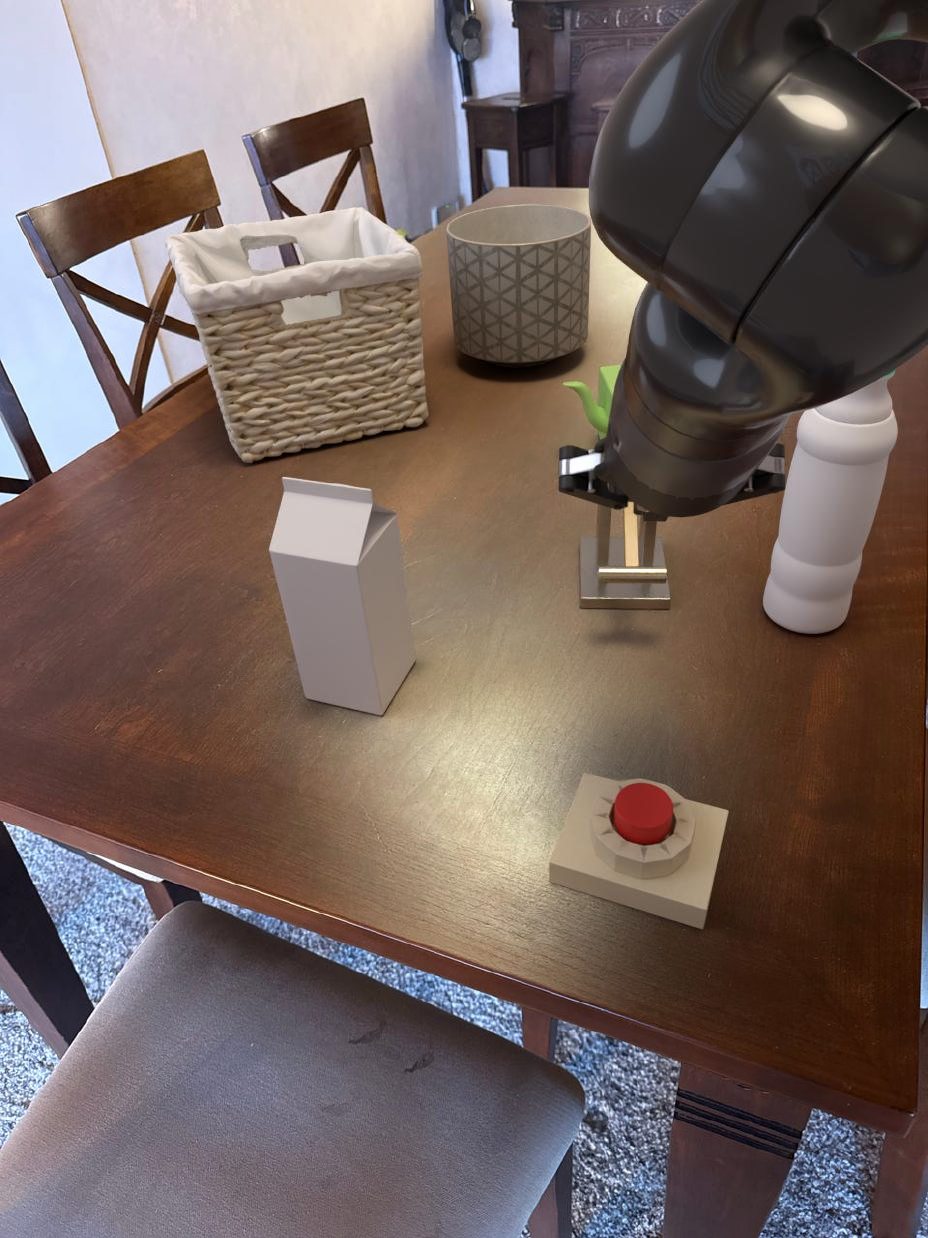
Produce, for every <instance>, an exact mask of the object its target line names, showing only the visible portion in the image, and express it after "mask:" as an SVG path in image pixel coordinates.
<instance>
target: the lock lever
mask: <svg viewBox="0 0 928 1238" xmlns="http://www.w3.org/2000/svg"><path fill="white" fill-rule="evenodd" d="M622 521H623V525H622V526H623V527H622V528H623V537H624V566H598V583H639V584H665V583H666V581H667V577H668V568H667V565H666V566H639V551H638V537H639V524H638V523H639V522H638V515H635V514H634V513H633V502H628V507H626V508H622Z"/></svg>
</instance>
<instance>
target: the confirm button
mask: <svg viewBox="0 0 928 1238" xmlns="http://www.w3.org/2000/svg"><path fill="white" fill-rule="evenodd" d="M672 815H673V803H672V800H671V798H670V797H669V795H668V794H667V793H666V792H665V791H664V790H662V789H661V788H659V787H657V786H655V785H652V784H648V783H634V784H630V785H628V786H626V787H624V788H623V789H622V790H621V791H620V792H619V793H618V795H617V797H616V800H615V812H614V824H615V827H616V829H617V831H618V832H619V833H620V835H622V836H623V837H624V838H625V839H627V840H628V841H630V842H633V843H636V844H641V845H650V844H655V843H658V842H660V841H661V840H663V839H664V838H665V837H666V836H667V835H668V833H669V831H670V828H671V822H672Z"/></svg>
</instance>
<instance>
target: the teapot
mask: <svg viewBox="0 0 928 1238" xmlns="http://www.w3.org/2000/svg"><path fill="white" fill-rule="evenodd" d="M621 365H622V364H616V365H605V366H604V365H603V366H600V367H599V369H598V391H597V392H598V394H597V403H596V401H595V399H594V395H593V393H592V391H591V389H590V387H589V386H588V385H587V384H586V383H584V382H582V381H565V382H563V383H562V386H564V387H567V388H569V389H570V390H571V389H572V391H574V392H576V393H577V395H578V396H579V399H580V400H581V403H582V406H583V411H584V413H585V416H586V418H587V420H588V423H589V424H590V425H591V426H592V427H593V428H594V429H595V430H596V431H597V434H598V436H599V439H600V440H601V439H603V438H605V437H606V435H607V429H608V422H609V416H610V410H611V404H612V398H613V392H614V386H615V382H616V379H617V375H618V372H619V370H620V368H621Z"/></svg>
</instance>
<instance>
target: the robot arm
mask: <svg viewBox="0 0 928 1238" xmlns="http://www.w3.org/2000/svg"><path fill="white" fill-rule="evenodd" d="M893 40H896V41H898V40H907V41H908V40H909V41H917V42H922V43H928V0H700V1H699V2H698V3H697V4H696V5H694V7H692V8H691V10H689V11H688V12H687V13H686V14H685V15H684V16H683V17H682V18H681V19H680V20H679V21H678V22H677V23H676V24H675V25H674V26H672V28H670V29H669V30H668V31H667V32H666V33H665V34H664V35H663V37H661V39H659V41H658V42H657V43H656V44H655V45H654V47H653V48H652V49H651V50H650V51H649V52H648V53H647V55H646V56H645V57H644V58H643V59H642V60H641V61H640V63H639V64H638V65H637V67H636V68H635V69H634V70H633V72H632V73H631V75H630V76H629V77H628V79H627V80H626V82H625V83H624V85H623V87H622V88H621V90H620V91H619V93H618V94H617V96H616V98H615V99H614V101H613V103H612V105H611V107H610V109H609V111H608V113H607V115H606V117H605V119H604V122H603V123H602V127H601V129H600V132H599V134H598V137H597V140H596V142H595V143H596V144H595V146H594V149H593V155H592V160H591V166H590V171H589V177H588V209H589V217H590V219H591V224H592V226H593V228H594V229H595V232H596V234H597V236H598V238H599V240H600V241H601V242H602V244H603V246H604V247H606V249H607V250H608V251H609V252H610V253H611V254H612V255H613V256H614V257H615V258H616V259H617V260H619V261H620V262H621V263H622V264H623V265H625V266H626V267H627V268H629V269H630V270H631V271H632V272H634V273H635V274H636V275H637V276H639V277H640V278H642V279H643V280H644V281H645V282H646V284H645V285H644V288H643V290H642V292H641V294H640V296H639V298H638V301H637V303H636V306H635V308H634V311H633V315H632V320H631V324H630V329H629V334H628V339H627V340H628V341H627V347H626V352H625V357H624V359H623V361H622V363H621V364H620V365H621V368H620V370H619V372H618V375H617V379H616V382H615V386H614V392H613V398H612V404H611V410H610V416H609V422H608V429H607V435H606V437H605V438H603V439H600V440H598V441H597V443H596V444H595V446H594V449H593V448H592V449H590V448H589V449H588V450H587V449H585V448H582V447H580V446H576V445H573V444H568V445H564V446H560V447H559V449H558V450H559V451H558V473H557V474H558V477H557V478H558V492H559V493H561V494H565V495H568V496H570V497H574V498H577V499H580V500H582V501H583V500H584V501H587V502H590V503H593V504H595V505H596V504H597V505H598V504H599V505H602V506H605V507H608V508H611V509H613V510H615V511H620V510H623V508H626V507H628V502H633V513H634V514H635V515H637V516H641V515H643V522H654V521H655V522H657V523H659V522H661V523H663V522H665V523H666V522H667V520H668V518H669V517H670V518H691V517H696V516H700V515H704V514H707V513H710V512H713V511H715V510H717V509H719V508H720V507H723V506H727V505H731V504H735V503H739V502H743V501H747V500H751V499H756V498H760V497H764V496H768V495H771V494H778V493H779V492H783V491H785V488H786V448H785V447H786V445H785V444H783V443H778V441H780V438H781V436H782V434H783V433H784V430H785V428H786V426H787V424H788V420H789V419H790V417H791V416H792V415H795V414H799V413H802V412H803V413H804V412H805V411H806V410H810V409H814V408H817V407H820V406H822V405H825V404H827V403H830V402H833V401H835V400H838V399H840V398H842V397H845V396H847V395H850V394H852V393H854V392H856V391H858V390H860V389H862V388H864V387H866V386H868V385H870V384H872V383H874V382H875V381H877V380H879V379H880V378H882V377H883V376H885V375H887V374H888V373H890V372H891V371H893V370H894V369H896V368H897V369H898V368H899V367H901V366H902V365H904V364H906V362H908V361H909V360H911V359H912V358H913V357H915V356H917V354H919V353H920V352H922V350H924V349H925V348H926V347H927V346H928V106H927V105H926V106H921V105H922V104H921V103H920V101H919V99H917V98H916V97H914V96H913V95H911V94H910V93H908V92H907V91H905V90H904V89H902V88H901V87H899V86H898V85H897V84H895V83H894V82H892V81H890V80H889V79H888V78H886V77H885V76H883V74H880V73H879V72H878V71H876V70H875V69H873V68H872V67H870V66H869V65H867V64H866V63H865V62H863V61H862V60H860V59H859V58H858V57H856V56H854V54H855V53H856V54H857V53H858V52H861V51H862V50H864V49H867V48H869V47H871V46H874V45H876V44H880V43H882V42H886V41H893ZM897 369H896V370H897ZM608 483H609V489H608Z"/></svg>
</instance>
